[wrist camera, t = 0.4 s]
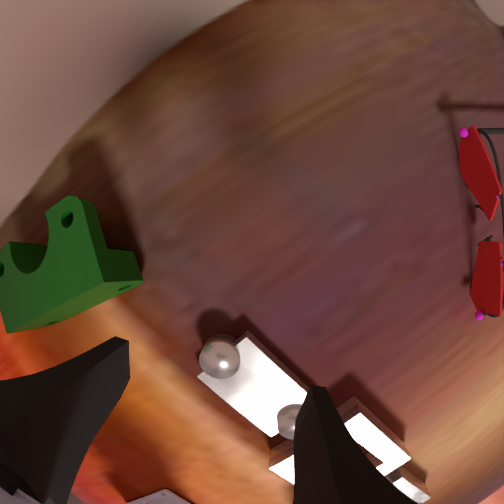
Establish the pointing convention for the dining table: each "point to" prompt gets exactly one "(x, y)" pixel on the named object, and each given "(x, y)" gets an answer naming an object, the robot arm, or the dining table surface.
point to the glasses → (487, 194)
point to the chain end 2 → (377, 443)
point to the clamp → (62, 270)
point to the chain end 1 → (261, 386)
